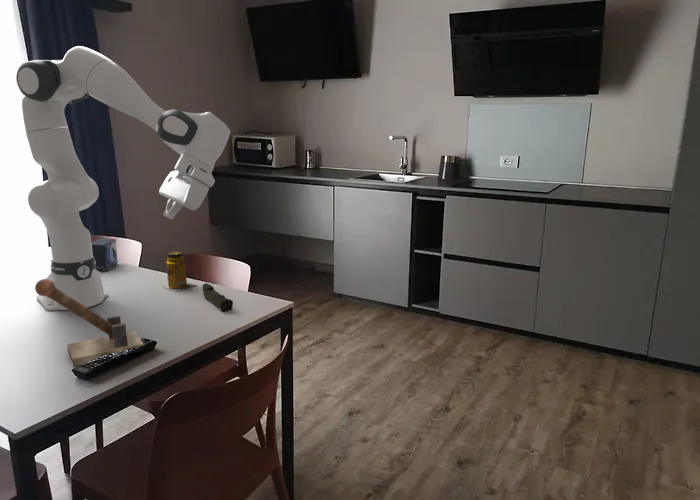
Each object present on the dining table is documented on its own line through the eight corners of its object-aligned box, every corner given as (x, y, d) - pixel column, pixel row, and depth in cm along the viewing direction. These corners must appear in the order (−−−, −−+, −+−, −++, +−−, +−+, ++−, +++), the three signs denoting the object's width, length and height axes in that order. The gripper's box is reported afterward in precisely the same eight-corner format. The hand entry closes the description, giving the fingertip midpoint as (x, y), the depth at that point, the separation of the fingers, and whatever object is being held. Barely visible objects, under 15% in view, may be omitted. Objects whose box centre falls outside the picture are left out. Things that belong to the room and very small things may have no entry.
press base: (135, 337, 146) (132, 311, 144) (144, 351, 138) (141, 323, 136) (67, 351, 138) (64, 323, 136) (73, 366, 130) (69, 337, 128)
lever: (125, 327, 141) (42, 273, 128) (128, 332, 138) (44, 278, 125) (114, 340, 140) (30, 287, 127) (117, 345, 137) (31, 292, 124)
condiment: (163, 287, 188) (160, 253, 185) (184, 281, 195) (182, 248, 192) (175, 291, 184) (172, 256, 181) (197, 285, 190) (194, 252, 187)
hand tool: (233, 311, 167) (233, 296, 166) (221, 313, 165) (220, 298, 164) (212, 294, 182) (211, 280, 181) (200, 296, 180) (199, 282, 179)
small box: (107, 272, 206) (104, 244, 203) (89, 271, 206) (86, 244, 203) (119, 264, 216) (116, 238, 213) (102, 264, 216) (99, 238, 213)
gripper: (168, 160, 152) (144, 205, 151) (197, 170, 137) (170, 220, 136) (187, 171, 156) (164, 215, 155) (218, 182, 141) (192, 230, 140)
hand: (167, 217), depth 145 cm, fingers closed
